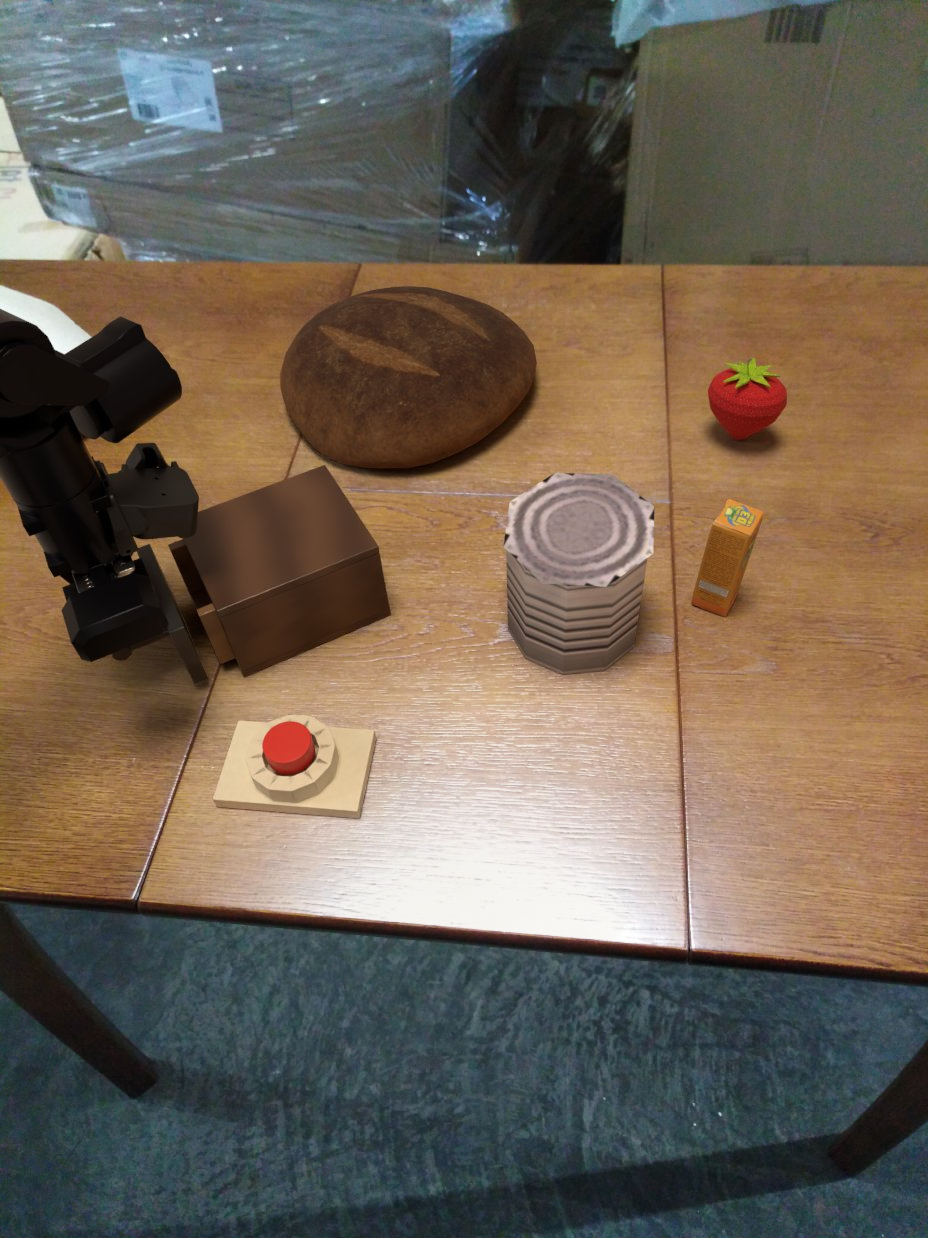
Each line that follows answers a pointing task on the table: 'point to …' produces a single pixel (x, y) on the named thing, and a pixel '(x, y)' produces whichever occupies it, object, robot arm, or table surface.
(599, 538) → the can
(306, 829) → the table surface
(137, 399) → the robot arm
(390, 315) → the bread
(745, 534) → the supplement box
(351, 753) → the control block
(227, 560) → the brown wooden drawer box
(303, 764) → the button
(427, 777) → the table surface
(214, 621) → the brown drawer
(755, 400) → the strawberry
